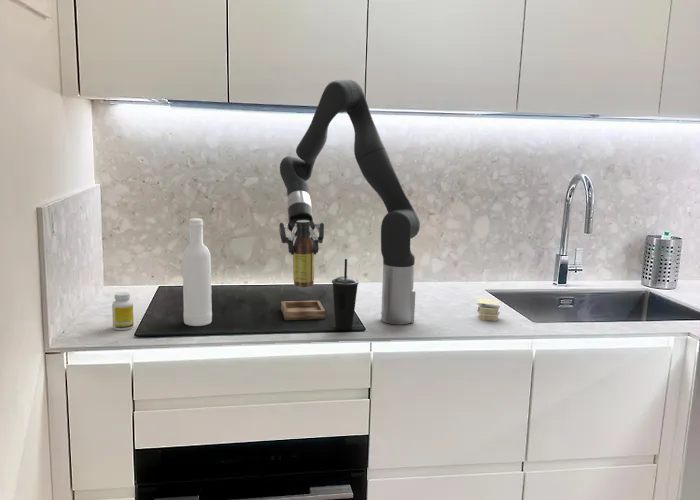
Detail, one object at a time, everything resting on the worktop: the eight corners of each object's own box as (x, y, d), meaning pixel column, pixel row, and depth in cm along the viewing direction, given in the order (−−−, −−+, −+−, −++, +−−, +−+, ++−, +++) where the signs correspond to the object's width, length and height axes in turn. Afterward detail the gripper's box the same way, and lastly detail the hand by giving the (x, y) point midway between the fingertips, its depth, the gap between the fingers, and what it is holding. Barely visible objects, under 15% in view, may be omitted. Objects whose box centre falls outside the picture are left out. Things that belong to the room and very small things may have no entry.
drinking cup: (362, 329, 178) (364, 260, 174) (338, 333, 174) (340, 262, 170) (348, 322, 184) (350, 255, 180) (325, 325, 180) (327, 257, 177)
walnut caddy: (319, 308, 198) (319, 300, 198) (325, 318, 187) (325, 310, 186) (281, 309, 196) (281, 301, 196) (284, 320, 185) (285, 312, 184)
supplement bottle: (137, 328, 174) (136, 293, 172) (119, 332, 170) (117, 297, 168) (127, 323, 177) (126, 290, 176) (109, 327, 173) (107, 293, 172)
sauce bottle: (303, 281, 194) (304, 218, 191) (318, 285, 191) (319, 220, 187) (288, 285, 189) (288, 220, 186) (303, 289, 186) (304, 222, 182)
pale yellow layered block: (505, 317, 195) (506, 300, 194) (502, 324, 187) (503, 307, 186) (473, 313, 198) (474, 296, 197) (468, 320, 190) (469, 303, 189)
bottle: (196, 328, 175) (194, 221, 170) (177, 322, 180) (175, 219, 174) (217, 321, 182) (216, 219, 176) (199, 316, 186) (197, 216, 181)
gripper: (277, 201, 191) (280, 246, 182) (323, 201, 194) (329, 245, 185) (275, 216, 197) (279, 260, 188) (321, 216, 200) (326, 259, 191)
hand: (304, 252), depth 187 cm, fingers closed on sauce bottle, 6 cm apart
